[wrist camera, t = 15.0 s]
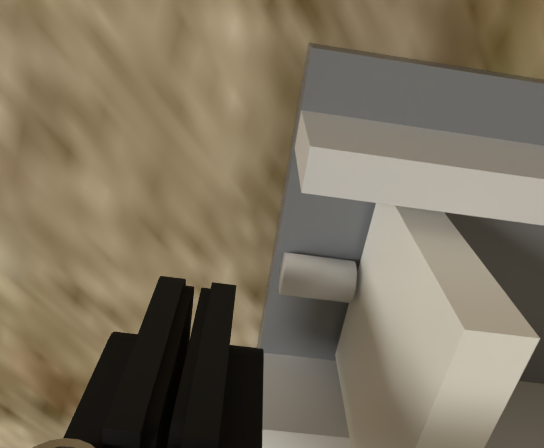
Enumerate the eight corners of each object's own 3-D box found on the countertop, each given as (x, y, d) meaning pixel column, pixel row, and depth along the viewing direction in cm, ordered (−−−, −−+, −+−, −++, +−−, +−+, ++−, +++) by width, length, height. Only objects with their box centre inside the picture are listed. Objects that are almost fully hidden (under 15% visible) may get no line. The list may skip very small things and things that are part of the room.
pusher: (381, 181, 13) (465, 329, 7) (425, 188, 13) (540, 338, 7) (335, 354, 15) (370, 556, 10) (371, 359, 15) (426, 560, 10)
